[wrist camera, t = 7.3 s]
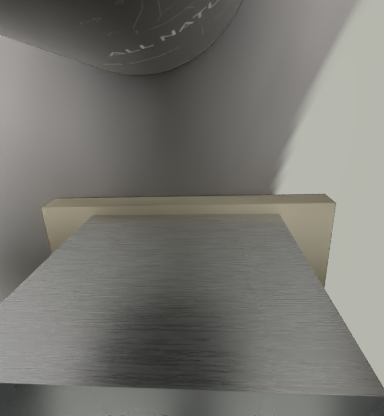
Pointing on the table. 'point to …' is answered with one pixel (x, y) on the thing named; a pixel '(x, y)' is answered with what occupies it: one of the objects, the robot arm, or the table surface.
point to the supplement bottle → (119, 30)
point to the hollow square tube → (180, 325)
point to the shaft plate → (180, 205)
